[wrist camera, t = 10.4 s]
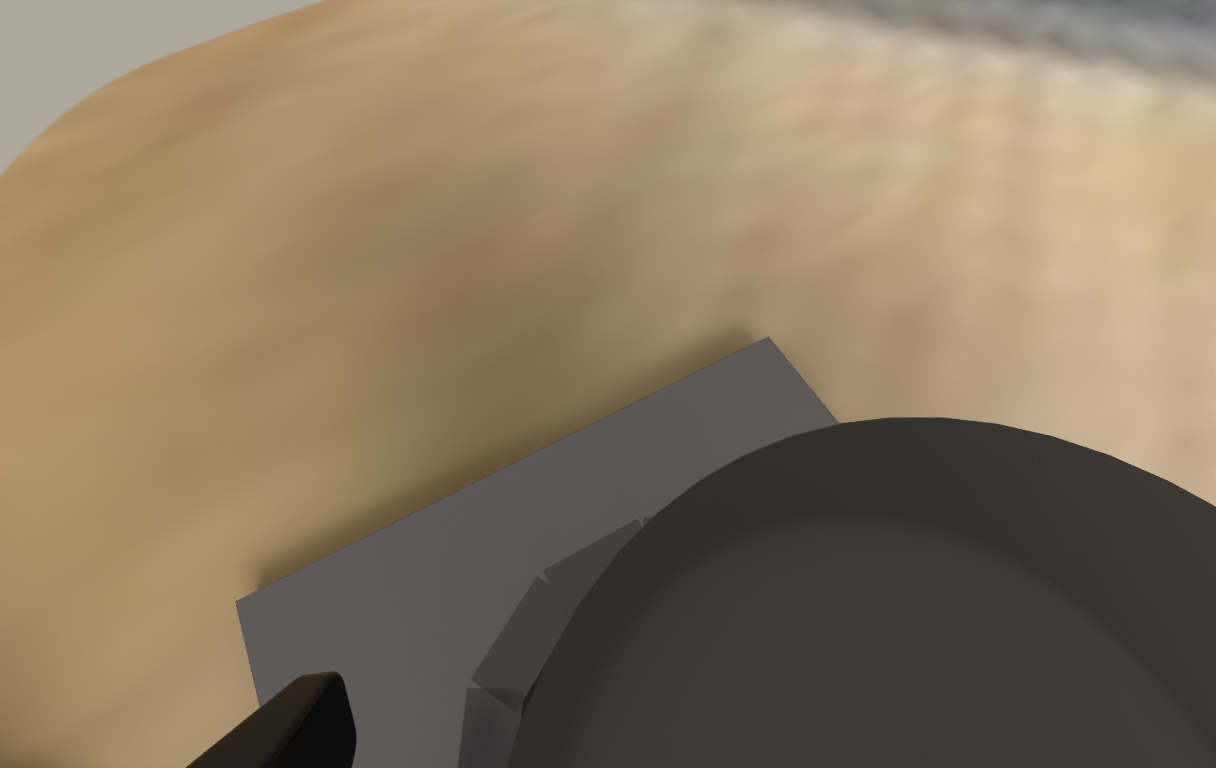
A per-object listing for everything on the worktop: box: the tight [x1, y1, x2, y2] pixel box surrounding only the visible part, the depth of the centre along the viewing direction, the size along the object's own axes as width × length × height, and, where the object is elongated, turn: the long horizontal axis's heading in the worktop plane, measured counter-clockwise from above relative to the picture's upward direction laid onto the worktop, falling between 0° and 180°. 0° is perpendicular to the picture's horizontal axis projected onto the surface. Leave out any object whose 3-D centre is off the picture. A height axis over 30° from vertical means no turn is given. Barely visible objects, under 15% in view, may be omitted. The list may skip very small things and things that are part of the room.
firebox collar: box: [235, 337, 839, 768], centre depth 12 cm, size 16×16×4 cm
